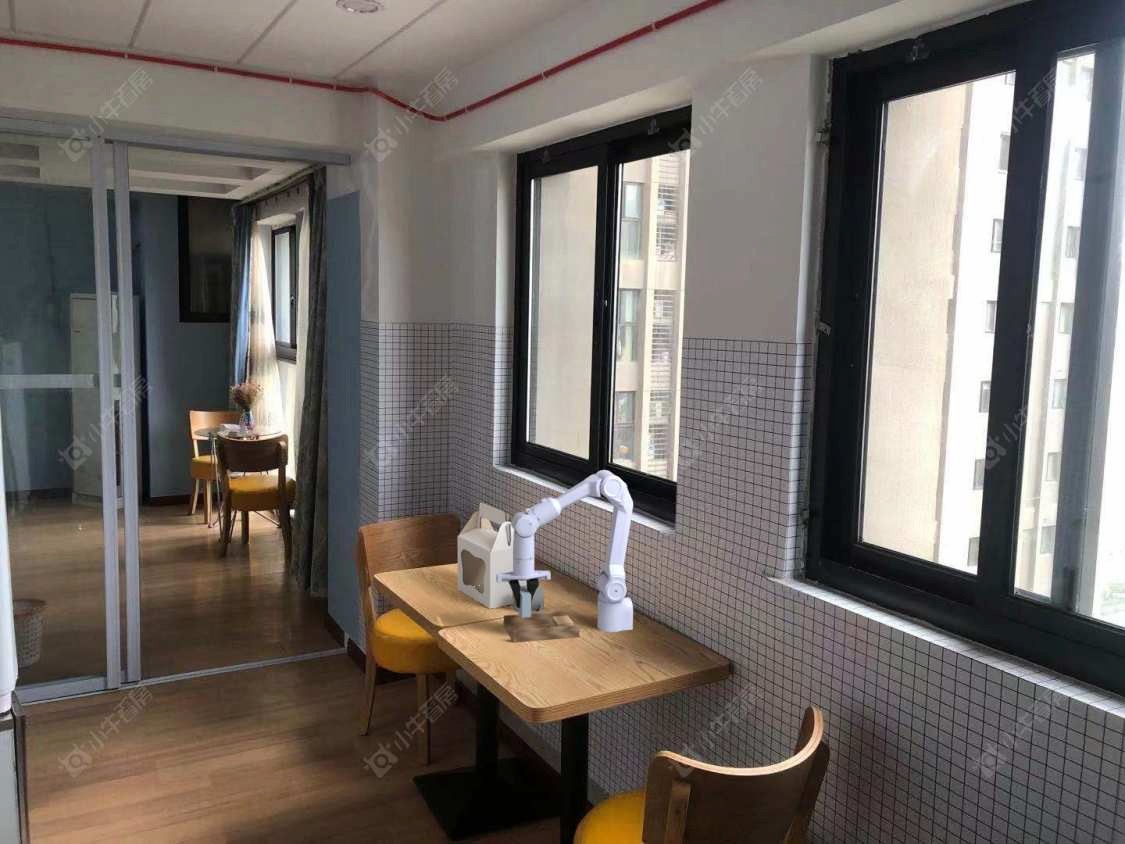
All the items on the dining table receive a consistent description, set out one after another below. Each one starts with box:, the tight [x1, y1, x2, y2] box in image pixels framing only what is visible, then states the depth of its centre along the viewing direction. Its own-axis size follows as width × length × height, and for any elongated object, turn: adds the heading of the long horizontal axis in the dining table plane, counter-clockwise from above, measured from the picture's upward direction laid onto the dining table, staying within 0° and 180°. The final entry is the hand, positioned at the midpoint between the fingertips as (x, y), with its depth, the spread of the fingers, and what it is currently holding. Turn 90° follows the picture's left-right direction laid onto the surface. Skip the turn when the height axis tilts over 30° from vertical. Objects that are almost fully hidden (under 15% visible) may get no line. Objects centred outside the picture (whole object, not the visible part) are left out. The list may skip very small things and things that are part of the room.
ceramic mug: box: [512, 583, 545, 613], centre depth 266 cm, size 11×8×8 cm
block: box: [515, 586, 532, 618], centre depth 245 cm, size 2×8×6 cm, turn 15°
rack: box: [503, 610, 581, 644], centre depth 248 cm, size 18×13×4 cm
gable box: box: [457, 501, 527, 609], centre depth 279 cm, size 22×13×28 cm, turn 32°
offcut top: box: [552, 615, 574, 627], centre depth 249 cm, size 4×6×2 cm
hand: (523, 606), depth 246 cm, fingers closed on block, 2 cm apart
